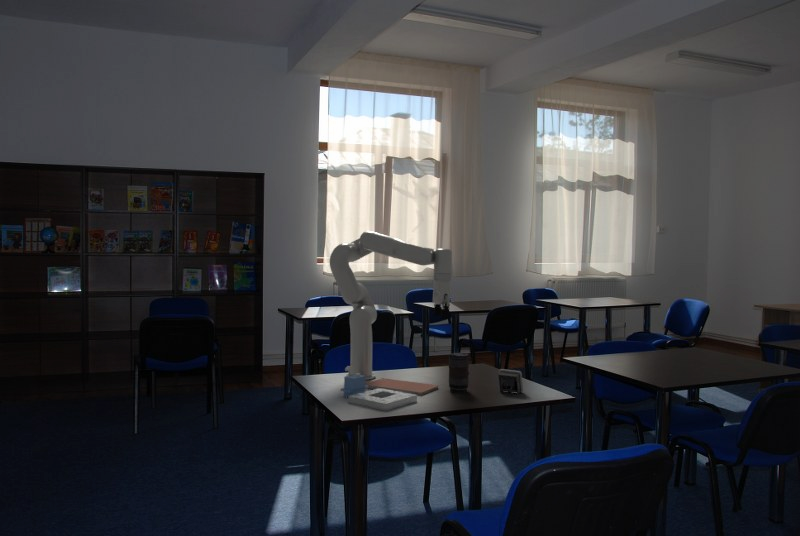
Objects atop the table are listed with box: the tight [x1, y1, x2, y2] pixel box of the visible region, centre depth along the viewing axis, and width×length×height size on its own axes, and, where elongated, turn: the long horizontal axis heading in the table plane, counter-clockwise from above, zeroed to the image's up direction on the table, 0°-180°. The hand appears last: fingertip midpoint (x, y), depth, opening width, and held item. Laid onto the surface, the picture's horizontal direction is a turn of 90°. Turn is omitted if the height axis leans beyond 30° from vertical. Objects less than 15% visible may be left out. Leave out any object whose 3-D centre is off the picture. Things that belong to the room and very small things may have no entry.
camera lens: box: [448, 352, 470, 394], centre depth 257 cm, size 8×8×15 cm
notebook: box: [365, 377, 440, 397], centre depth 262 cm, size 27×17×2 cm, turn 60°
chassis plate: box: [347, 388, 418, 412], centre depth 237 cm, size 18×18×2 cm
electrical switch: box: [498, 368, 524, 394], centre depth 256 cm, size 9×5×9 cm, turn 59°
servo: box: [340, 373, 369, 397], centre depth 247 cm, size 11×4×8 cm, turn 141°
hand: (441, 317), depth 274 cm, fingers open, 9 cm apart
